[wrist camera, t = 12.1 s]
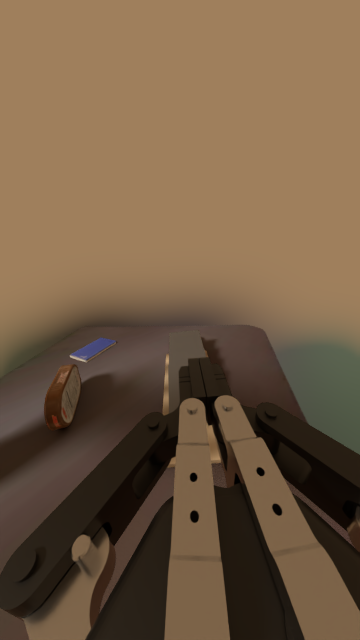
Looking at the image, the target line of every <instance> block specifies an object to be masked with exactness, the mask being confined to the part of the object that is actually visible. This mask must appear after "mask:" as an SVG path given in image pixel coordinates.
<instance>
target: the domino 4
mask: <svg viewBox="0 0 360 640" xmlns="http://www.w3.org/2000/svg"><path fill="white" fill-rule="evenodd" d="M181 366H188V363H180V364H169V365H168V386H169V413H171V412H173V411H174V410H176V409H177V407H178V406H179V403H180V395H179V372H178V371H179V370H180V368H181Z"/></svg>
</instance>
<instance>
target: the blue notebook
mask: <svg viewBox="0 0 360 640" xmlns="http://www.w3.org/2000/svg"><path fill="white" fill-rule="evenodd" d="M114 344H116V341H114V340H109V339H104V338H99V339H98V340H96V341H94V342H92V343H91V344H89V345H87V346H85V347H83V348H82V349H80V350H78V351H76V352H74V353H73V354H71V355H70V357H71V358H74V359H77V360H80V361H83V362H88V361H90V360H91V359H93V358H94V357H96V356H97V355H99V354H100V353H102V352H104V351H105V350H107V349H108V348H110V347H111V346H113V345H114Z"/></svg>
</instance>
